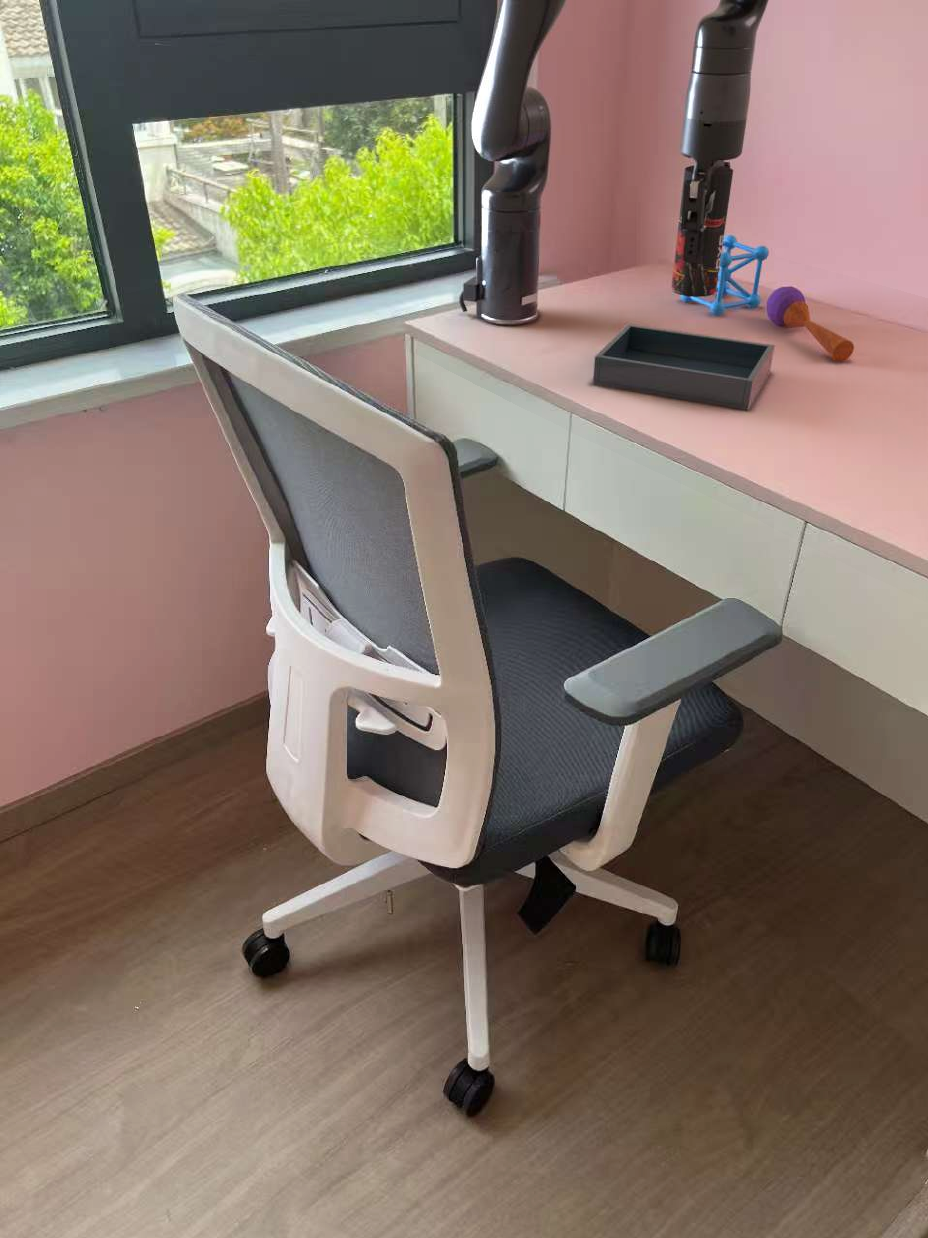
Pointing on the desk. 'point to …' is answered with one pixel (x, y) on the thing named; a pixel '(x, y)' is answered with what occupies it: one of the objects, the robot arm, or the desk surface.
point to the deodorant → (704, 273)
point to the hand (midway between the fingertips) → (697, 254)
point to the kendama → (805, 321)
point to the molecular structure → (725, 275)
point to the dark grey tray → (684, 366)
